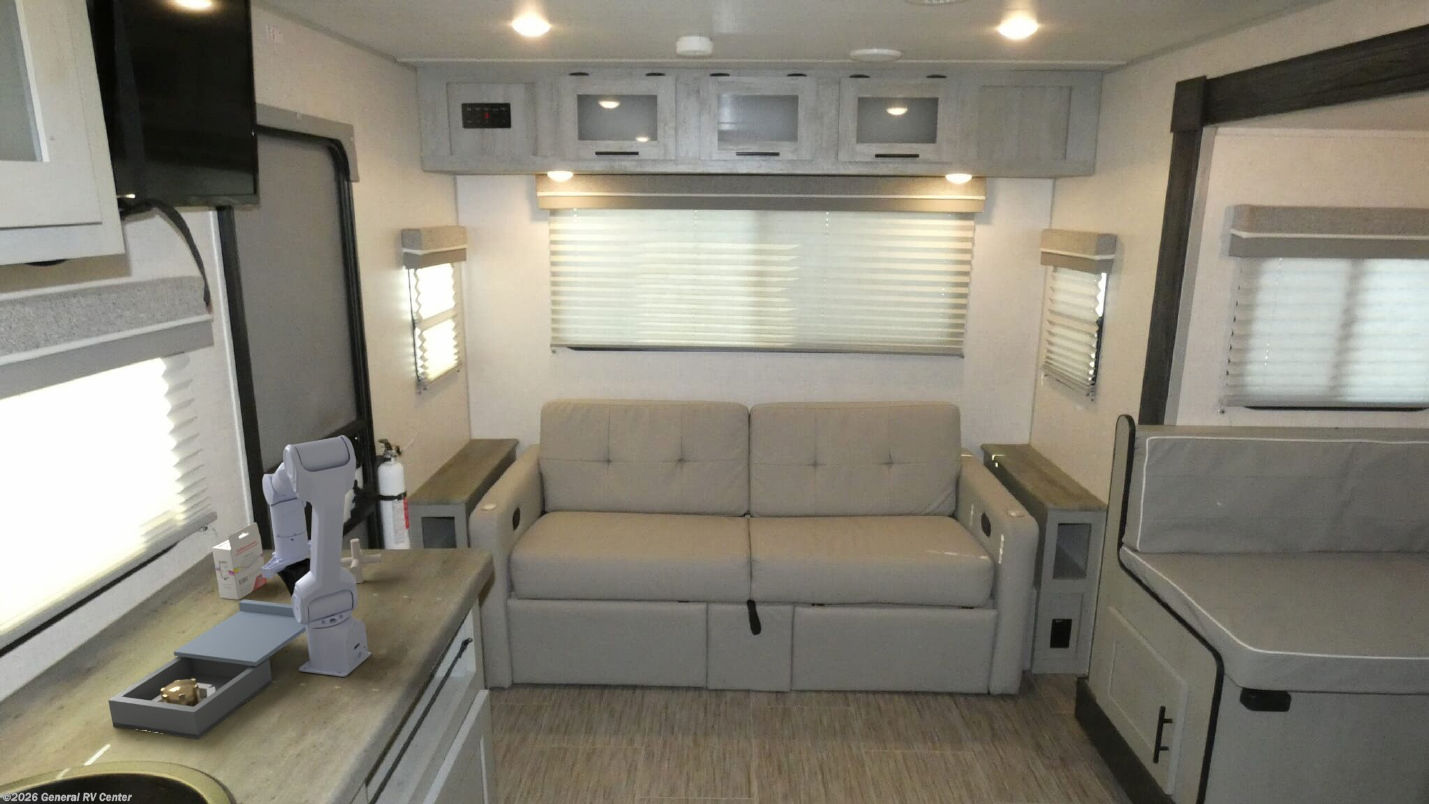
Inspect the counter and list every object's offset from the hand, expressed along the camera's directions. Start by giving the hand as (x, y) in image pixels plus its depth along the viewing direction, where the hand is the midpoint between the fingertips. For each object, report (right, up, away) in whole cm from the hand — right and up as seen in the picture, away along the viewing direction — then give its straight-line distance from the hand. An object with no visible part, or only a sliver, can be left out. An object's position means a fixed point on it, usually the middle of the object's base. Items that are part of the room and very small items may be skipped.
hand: (298, 596), depth 159 cm
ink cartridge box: (-21, -3, +18) cm, 28 cm away
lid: (-3, -5, -12) cm, 13 cm away
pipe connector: (+2, -2, +22) cm, 22 cm away
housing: (-5, -12, -23) cm, 27 cm away
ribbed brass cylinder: (-6, -12, -26) cm, 29 cm away
